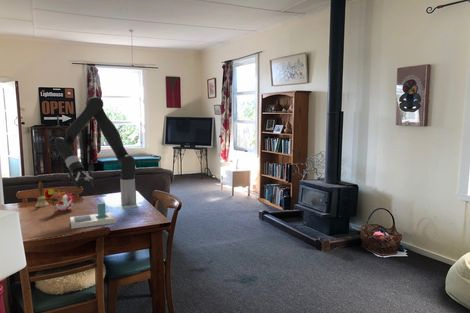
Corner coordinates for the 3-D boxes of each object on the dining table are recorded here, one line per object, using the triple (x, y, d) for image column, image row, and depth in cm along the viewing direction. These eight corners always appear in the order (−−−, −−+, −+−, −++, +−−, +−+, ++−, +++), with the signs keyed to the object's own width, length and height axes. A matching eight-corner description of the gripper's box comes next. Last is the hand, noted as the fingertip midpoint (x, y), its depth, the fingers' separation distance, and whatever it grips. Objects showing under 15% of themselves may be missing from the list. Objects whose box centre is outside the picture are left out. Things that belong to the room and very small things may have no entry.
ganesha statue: (76, 213, 226) (54, 198, 210) (57, 216, 229) (35, 201, 213) (81, 195, 234) (61, 179, 218) (63, 198, 237) (42, 182, 221)
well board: (111, 217, 212) (111, 212, 211) (115, 223, 199) (115, 218, 199) (70, 222, 202) (70, 217, 201) (71, 229, 189) (71, 223, 189)
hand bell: (34, 207, 234) (32, 183, 232) (35, 204, 241) (34, 181, 240) (48, 206, 237) (47, 182, 235) (49, 203, 245) (48, 180, 243)
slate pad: (89, 215, 204) (89, 215, 204) (91, 220, 195) (91, 219, 195) (74, 217, 201) (74, 216, 201) (75, 222, 192) (75, 221, 192)
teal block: (105, 219, 205) (104, 202, 204) (106, 221, 202) (105, 204, 201) (97, 220, 204) (97, 203, 202) (98, 222, 200) (97, 204, 199)
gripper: (65, 162, 205) (78, 184, 200) (87, 159, 217) (100, 180, 212) (60, 170, 209) (72, 192, 204) (82, 167, 221) (94, 188, 216)
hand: (86, 186), depth 208 cm, fingers open, 8 cm apart
